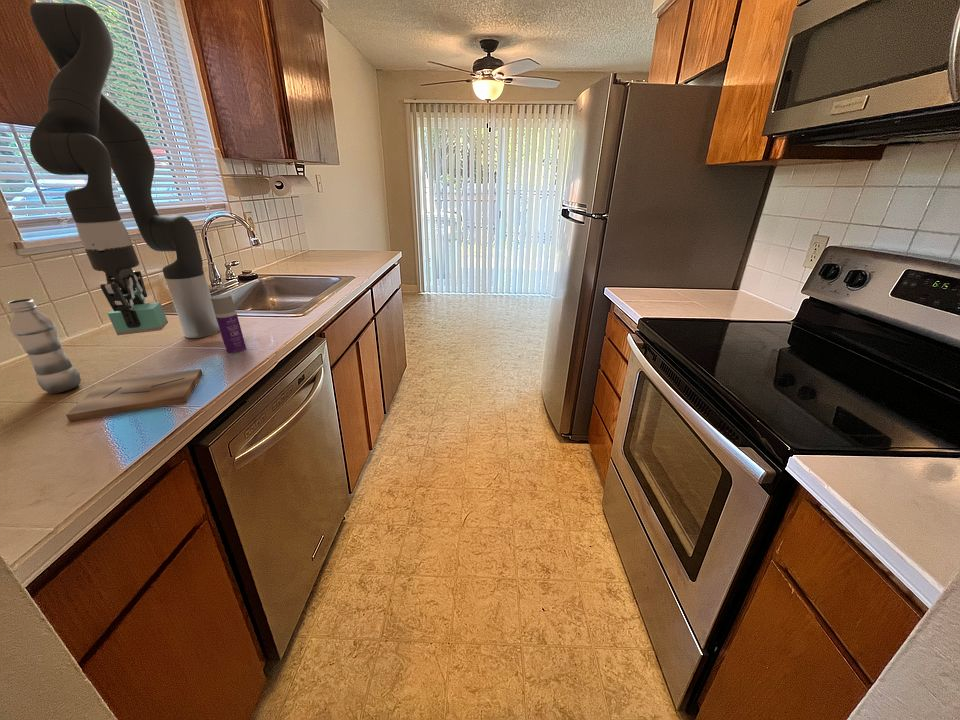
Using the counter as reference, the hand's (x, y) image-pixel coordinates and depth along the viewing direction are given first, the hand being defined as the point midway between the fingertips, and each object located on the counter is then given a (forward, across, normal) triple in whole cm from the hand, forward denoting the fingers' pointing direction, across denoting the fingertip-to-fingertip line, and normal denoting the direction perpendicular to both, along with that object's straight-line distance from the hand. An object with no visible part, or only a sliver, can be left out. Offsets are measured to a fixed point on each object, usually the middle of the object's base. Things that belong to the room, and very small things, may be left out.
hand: (139, 322), depth 89 cm
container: (+13, -9, +15) cm, 22 cm away
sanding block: (+2, 0, 0) cm, 2 cm away
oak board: (+13, +11, 0) cm, 17 cm away
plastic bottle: (+13, +1, -17) cm, 22 cm away
